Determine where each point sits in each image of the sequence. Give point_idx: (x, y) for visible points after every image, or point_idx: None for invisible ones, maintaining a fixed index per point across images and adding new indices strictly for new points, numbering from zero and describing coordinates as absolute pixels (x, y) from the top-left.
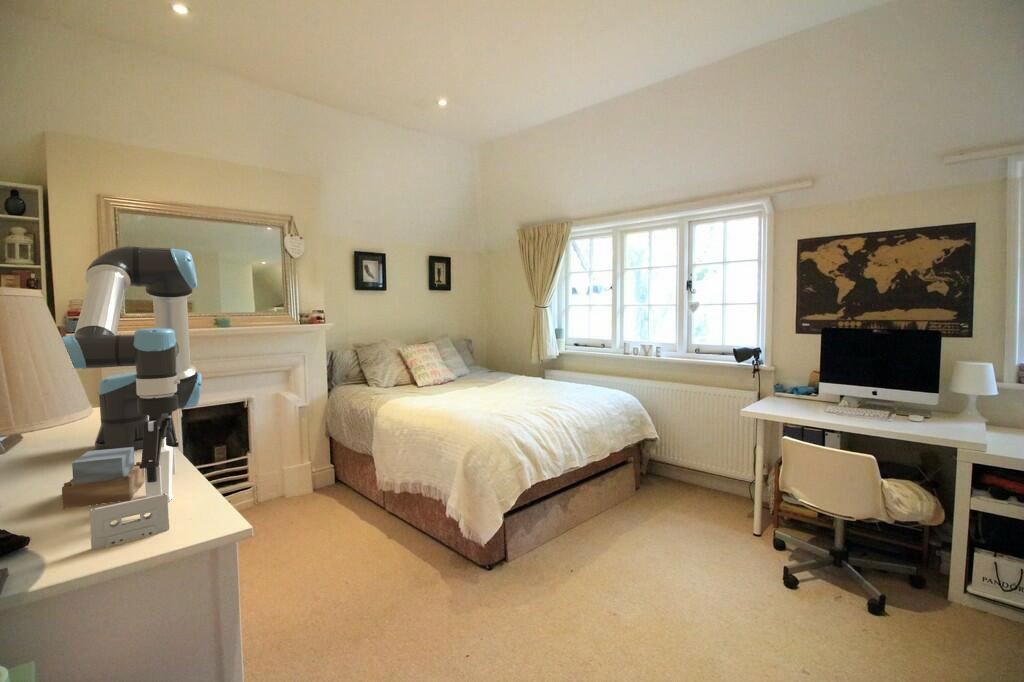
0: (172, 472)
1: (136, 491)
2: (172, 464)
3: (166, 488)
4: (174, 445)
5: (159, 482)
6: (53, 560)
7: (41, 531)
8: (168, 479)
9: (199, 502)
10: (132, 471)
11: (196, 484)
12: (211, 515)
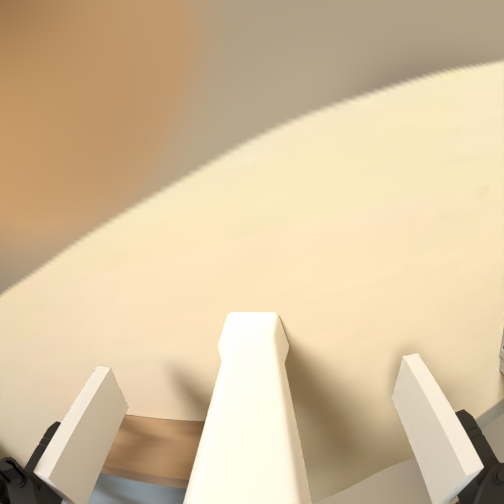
0: (109, 383)
1: (147, 419)
2: (211, 446)
3: (281, 363)
4: (24, 480)
5: (444, 397)
6: (498, 397)
7: (353, 477)
8: (281, 390)
9: (338, 184)
10: (120, 473)
11: (87, 258)
12: (480, 123)
